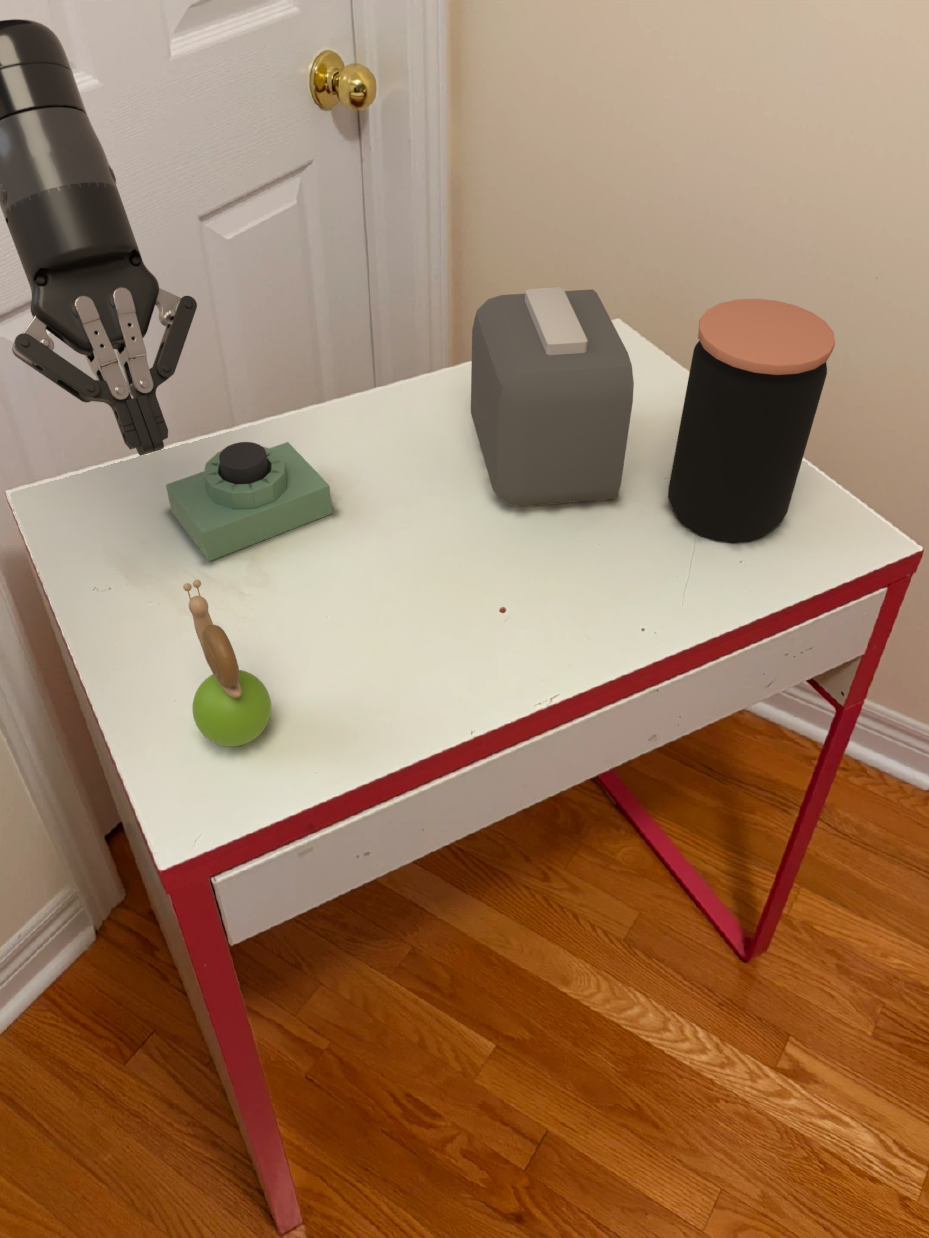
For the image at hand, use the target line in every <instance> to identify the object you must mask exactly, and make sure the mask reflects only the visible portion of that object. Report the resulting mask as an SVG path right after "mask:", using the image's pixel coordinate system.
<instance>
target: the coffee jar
mask: <svg viewBox="0 0 929 1238" xmlns="http://www.w3.org/2000/svg"><path fill="white" fill-rule="evenodd" d="M697 331H698V332H697V333H698V334H697V339H698V342H696V344H695V345H694V348H693V352H692V355H691V356H692V357H691V362H690V368H689V373H688V377H687V383H686V390H685V394H684V400H683V406H682V412H681V417H680V422H679V429H678V433H677V439H676V445H675V450H674V455H673V459H672V460H673V461H672V465H671V472H670V476H669V482H668V490H667V491H668V492H667V499H668V502H669V504H670V507H671V509H672V511H673V513H674V514H675V516H676V518H677V520H678V521H679V522H680V523H681V524H682V525H683V526H684V527H685V528H686V529H688V530H689V531H691V532H693V533H695V534H696V535H698V536H699V537H703V538H706V539H709V540H712V541H715V542H722V543H730V544H737V543H738V544H739V543H749V542H752V541H755V540H758V539H761V538H764V537H765V536H766V535H768V534H770V533H771V532H772V531H773V530H775V529H776V528H777V527H779V526H780V525H781V524H782V523H783V521H784V519H785V518H786V515H787V514H788V512H789V508H790V504H791V501H792V497H793V493H794V490H795V486H796V484H797V480H798V476H799V473H800V469H801V465H802V462H803V459H804V455H805V452H806V449H807V445H808V441H809V438H810V435H811V432H812V427H813V425H814V421H815V417H816V413H817V410H818V407H819V403H820V400H821V396H822V392H823V389H824V387H825V386H824V385H825V382H826V379H827V375H828V365H827V362H828V361H829V358H830V357H831V355H832V353H833V351H834V348H835V346H836V339H835V332H834V330H833V329H832V327H831V326H830V325H829V323H828V322H827V321H826V320H824V319H823V318H821V317H820V316H818V315H817V314H815V313H814V312H813V311H810V310H807V309H805V308H803V307H800V306H798V305H795V304H791V303H787V302H783V301H779V300H774V299H773V300H772V299H764V298H742V299H740V298H739V299H738V298H737V299H732V300H728V301H724V302H720V303H718V304H715V305H714V306H712V307H710V308H708V309H706V311H705V312H704V313H703V314H702V315H701V316H700V318H699V321H698V330H697Z"/></svg>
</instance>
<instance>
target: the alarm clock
mask: <svg viewBox="0 0 929 1238" xmlns="http://www.w3.org/2000/svg"><path fill="white" fill-rule="evenodd" d="M608 313H609V312H607V309H606V308H605V306H604V304H603V302H602V300H601V298H600V296H599V294H598V292H597V291H595V290H594V289H593V288H592V289H591V288H590V289H578V290H577V289H576V290H574V289H573V290H565V289H564V288H563V287H561V286H559V287H558V286H557V287H542V288H527V289H526V290H525V292H524V293H513V294H510V293H509V294H500V295H497V296H494V297H491V298H488V299H487V300H485V301H484V302H483V303H482V304H481V306H480V307H479V308H477V309H476V312H475V315H474V320H473V324H472V329H471V372H470V373H471V374H470V375H471V377H470V384H471V385H470V415H471V418H472V422H473V425H474V429H475V433H476V436H477V440H478V442H479V446H480V451H481V454H482V457H483V460H484V464H485V468H486V471H487V475H488V478H489V481H490V485H491V488H492V491H493V492H494V494H495V495H496V496H497V497H498V498H499V499H500V500H502V501H503V502H505V503H506V504H507V505H508V506H515V507H523V508H525V507H535V506H548V505H557V504H558V505H559V504H569V503H579V502H580V503H582V502H593V501H602V500H613V499H616V498H618V496H619V494H620V491H621V487H622V480H623V473H624V467H625V466H624V465H625V458H626V453H627V444H628V438H629V430H630V424H631V417H632V411H633V410H632V409H633V403H634V387H635V386H634V385H635V383H634V373H633V365H632V362H631V359H630V356H629V352H628V350H627V348H626V346H625V344H624V342H623V340H622V338H621V336H620V334H619V333H618V330H617V329H616V328H615V327H616V326H615V325H614V323H613V321H612V320H611V317H610V315H609V314H608Z"/></svg>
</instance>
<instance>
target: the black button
mask: <svg viewBox="0 0 929 1238" xmlns="http://www.w3.org/2000/svg"><path fill="white" fill-rule="evenodd" d="M262 446H263V445H261V444H259V443H257V442H251V441H241V442H239V441H238V442H235V443H232V444H230V445H227V446H225V447H224V448H223V449H222V450H221V451H220V452H221V453H220V455H219V461H220V466H221V472H222V476H223V478H224V479H225V480H226V481H227V482H230V483H233V484H251V483H254V482H256V481H259V480H262V479H263V478H264V477H266V475H267V474H268V471H269V468H268V461H267V455H266V451H265V449H264V448H263V447H264V446H263V447H262Z"/></svg>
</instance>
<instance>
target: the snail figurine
mask: <svg viewBox="0 0 929 1238" xmlns="http://www.w3.org/2000/svg"><path fill="white" fill-rule="evenodd" d="M192 586H193V587H194V588H196V589H197V594H198V595H193V596H191V594H190V591H191V590H192V588H193V587H192ZM201 586H202V581H200V579H195V580H194V581H192V584H191V583H188V582H186V583H185V584H183V590H184V591H185V592H187V595H188V598H189V601H188V609H189V612H190V613H191V616H192V620H193V624H194V630H195V633H196V636H197V638H198V642H199V644H200V646H201V647H200V648H201V649H202V653H203V655H204V659H205V661H206V663H207V665H208V667H209V668H210V671H211V672H212V674H211V675H209V676H208V677H207V678H205V679H204V680H203V681H202V682H201V684H200V685H199V686H198V688H197V689H196V691H195V694H194V697H193V700H192V716H193V721H194V723H195V725H196V728H197V729H198V730H199V732H200V733H201V734H202V735H203V736H204V737H205V738H206V739H208V740H209V741H210V742H212V743H214V744H217V745H220V746H223V747H224V746H225V747H238V746H242V745H246V744H248V743H250V742H252V741H253V740H256V738H258V737H259V736H260V735H261V734H262V732H263V731H264V730H265V729H266V727H267V725H268V723H269V721H270V718H271V714H272V701H271V696H270V693H269V690H268V688H266V685H265V684H264V683H263V681H261V679H259V678H258V677H257V676H255V675H254V674H252V673H251V672H248V671H246V670H243V669H240V668H239V667H240V666H239V663H238V659H237V656H236V653H235V651H234V648H233V646H232V643H231V640H230V639H229V637H228V634H227V633H226V632H225V630H224V629H223V628H222V627H221V626H220V625H217V624H214V622H213V620H212V617H211V615H210V612H209V602H208V601H207V599H206V598H205V597H203V596H201V593H200V589H199V588H200V587H201Z"/></svg>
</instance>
